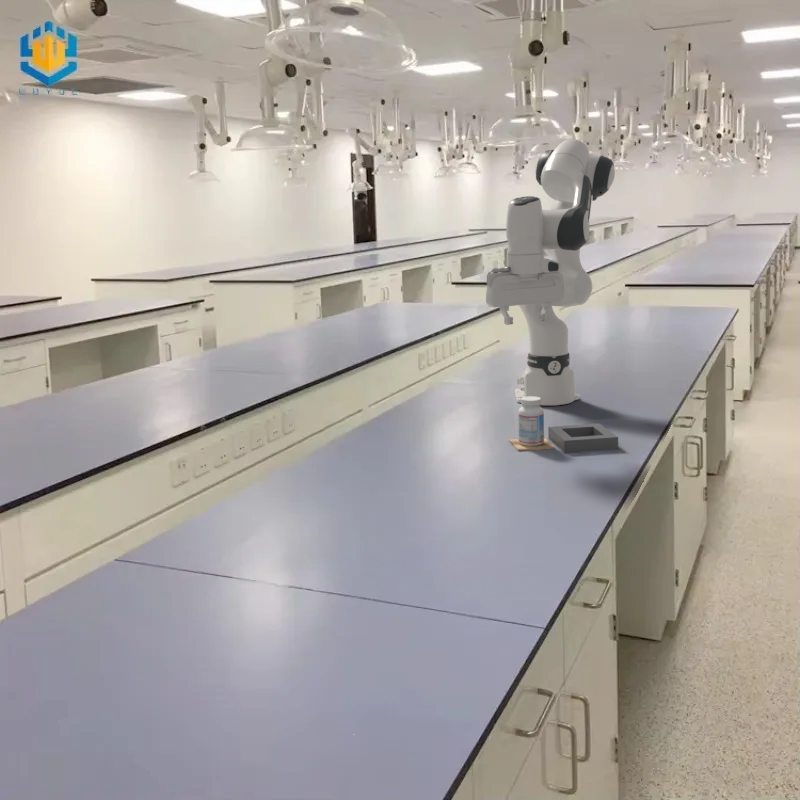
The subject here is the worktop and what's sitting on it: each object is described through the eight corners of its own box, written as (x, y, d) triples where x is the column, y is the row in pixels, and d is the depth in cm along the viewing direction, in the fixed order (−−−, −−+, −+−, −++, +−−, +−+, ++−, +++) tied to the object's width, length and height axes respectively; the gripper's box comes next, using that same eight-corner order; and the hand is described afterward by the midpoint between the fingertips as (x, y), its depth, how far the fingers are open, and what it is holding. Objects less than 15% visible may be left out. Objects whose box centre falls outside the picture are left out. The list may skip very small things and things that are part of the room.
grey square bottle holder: (548, 438, 213) (548, 426, 212) (599, 435, 214) (599, 423, 214) (564, 453, 200) (564, 440, 200) (617, 449, 202) (618, 437, 201)
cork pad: (509, 441, 212) (509, 439, 212) (544, 438, 213) (544, 437, 213) (518, 451, 203) (518, 449, 203) (555, 448, 204) (555, 447, 204)
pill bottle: (532, 438, 212) (533, 394, 209) (549, 444, 207) (549, 398, 204) (513, 442, 209) (513, 397, 206) (529, 448, 204) (529, 402, 201)
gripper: (493, 269, 201) (494, 328, 204) (567, 263, 208) (567, 320, 211) (480, 268, 206) (481, 325, 210) (554, 262, 214) (554, 317, 217)
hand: (525, 322), depth 211 cm, fingers open, 8 cm apart
